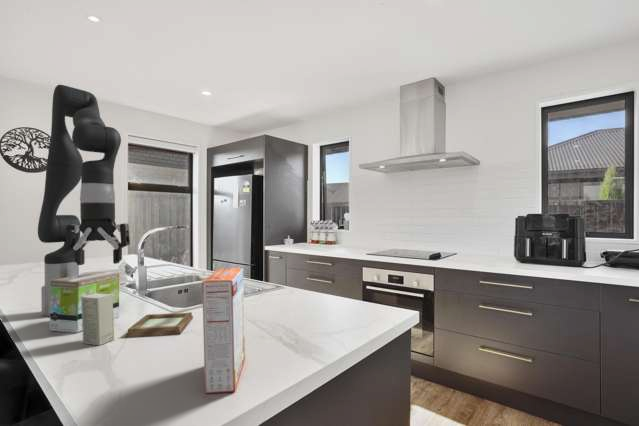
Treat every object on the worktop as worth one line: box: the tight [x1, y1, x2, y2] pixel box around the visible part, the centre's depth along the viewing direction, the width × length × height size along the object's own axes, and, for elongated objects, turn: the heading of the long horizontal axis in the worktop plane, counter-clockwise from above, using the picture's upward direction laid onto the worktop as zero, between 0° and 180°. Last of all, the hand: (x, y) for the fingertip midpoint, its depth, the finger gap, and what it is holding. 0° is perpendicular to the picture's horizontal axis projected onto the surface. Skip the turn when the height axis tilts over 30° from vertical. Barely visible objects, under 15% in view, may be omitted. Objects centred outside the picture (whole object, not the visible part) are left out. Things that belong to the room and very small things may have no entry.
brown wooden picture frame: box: [125, 311, 194, 338], centre depth 97 cm, size 14×14×2 cm
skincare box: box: [81, 293, 115, 346], centre depth 87 cm, size 6×4×12 cm
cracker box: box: [201, 267, 246, 394], centre depth 68 cm, size 14×6×21 cm, turn 5°
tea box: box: [49, 271, 120, 334], centre depth 101 cm, size 15×10×15 cm
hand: (98, 264), depth 86 cm, fingers open, 8 cm apart
